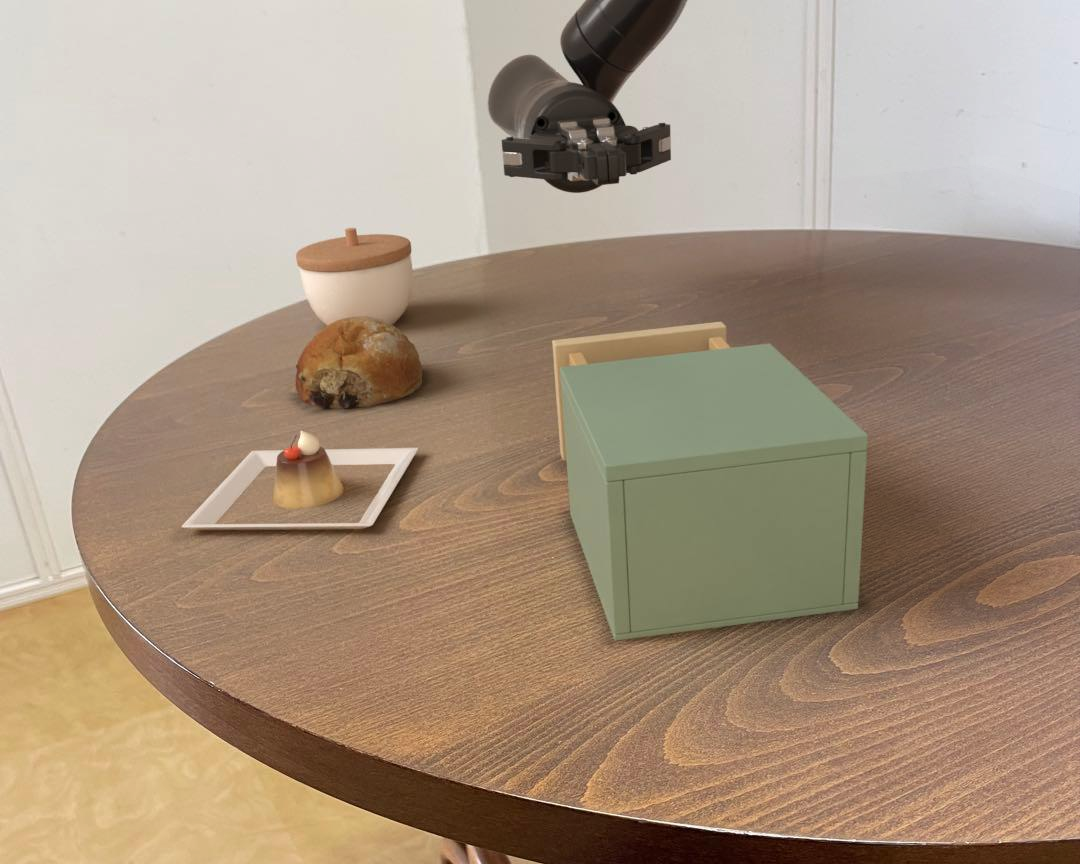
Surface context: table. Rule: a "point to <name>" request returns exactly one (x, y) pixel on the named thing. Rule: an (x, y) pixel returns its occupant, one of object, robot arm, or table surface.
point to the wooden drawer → (631, 351)
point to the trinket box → (357, 276)
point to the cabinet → (712, 490)
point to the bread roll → (357, 365)
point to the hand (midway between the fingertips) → (608, 168)
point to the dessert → (301, 483)
